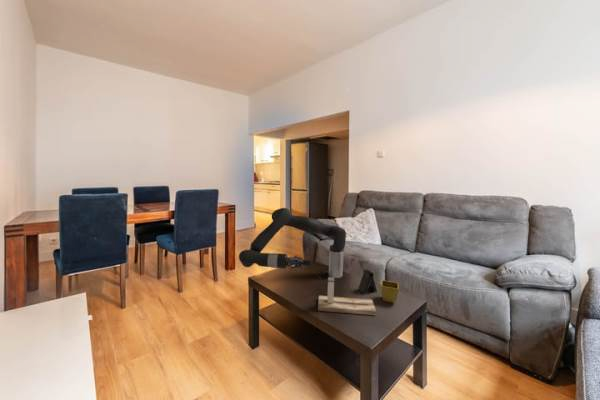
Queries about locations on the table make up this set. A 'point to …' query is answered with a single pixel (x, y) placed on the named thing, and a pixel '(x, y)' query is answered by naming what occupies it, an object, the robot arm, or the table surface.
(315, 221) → the robot arm
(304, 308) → the table surface
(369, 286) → the phone stand
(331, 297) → the fader knob
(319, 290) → the table surface
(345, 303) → the wooden slider board
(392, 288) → the flower pot
